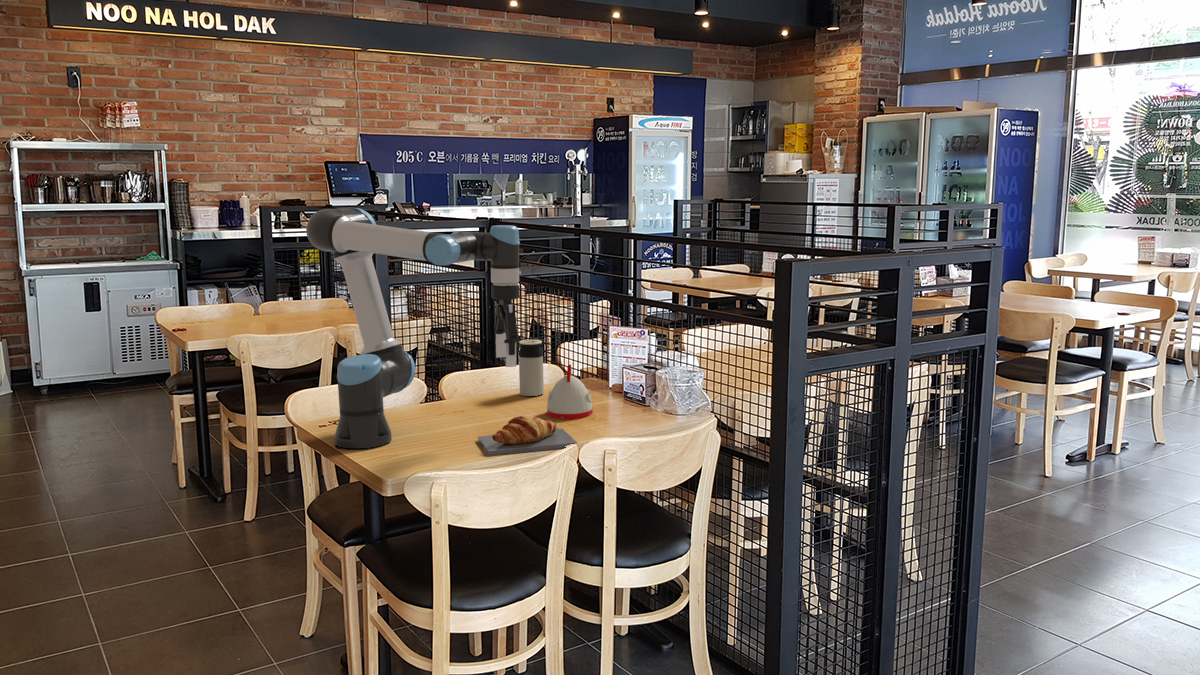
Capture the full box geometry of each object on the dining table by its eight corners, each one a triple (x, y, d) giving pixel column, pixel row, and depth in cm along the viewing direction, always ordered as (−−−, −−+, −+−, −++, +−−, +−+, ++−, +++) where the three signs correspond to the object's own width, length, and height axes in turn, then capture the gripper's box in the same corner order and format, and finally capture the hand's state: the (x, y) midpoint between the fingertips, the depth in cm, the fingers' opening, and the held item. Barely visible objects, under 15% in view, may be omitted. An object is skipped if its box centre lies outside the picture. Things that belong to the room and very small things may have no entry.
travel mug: (534, 398, 300) (532, 344, 297) (515, 395, 304) (513, 342, 301) (548, 393, 306) (547, 340, 303) (529, 390, 311) (528, 338, 308)
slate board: (488, 456, 237) (488, 451, 236) (478, 441, 251) (477, 436, 250) (577, 447, 244) (577, 442, 244) (562, 433, 258) (562, 428, 258)
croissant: (551, 442, 256) (543, 415, 258) (571, 431, 249) (562, 404, 251) (488, 455, 243) (480, 427, 244) (507, 445, 235) (498, 415, 237)
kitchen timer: (593, 408, 286) (592, 361, 284) (591, 419, 272) (591, 370, 270) (549, 408, 287) (548, 361, 284) (545, 419, 273) (544, 370, 270)
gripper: (529, 288, 233) (529, 370, 236) (509, 278, 256) (510, 352, 260) (500, 289, 231) (501, 371, 234) (483, 279, 254) (484, 353, 258)
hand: (506, 361), depth 247 cm, fingers open, 13 cm apart
